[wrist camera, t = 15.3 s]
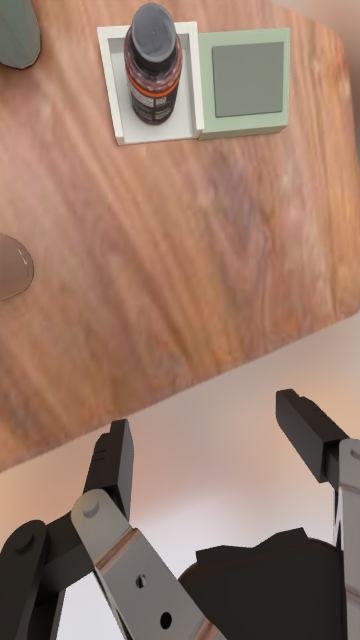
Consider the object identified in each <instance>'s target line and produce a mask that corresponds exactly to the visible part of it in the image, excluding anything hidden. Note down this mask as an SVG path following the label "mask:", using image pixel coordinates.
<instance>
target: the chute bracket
mask: <svg viewBox="0 0 360 640" xmlns="http://www.w3.org/2000/svg"><path fill="white" fill-rule="evenodd" d="M174 25H175V29H176V33H177V35H178V37H179V39H180V43H181V47H182V54H183V63H182V70H181V76H180V81H179V86H178V92H177V97H176V102H175V106H174V110H173V112H172V114H171V116H170V117H169V118H168V119H167V120H166V121H165V122H163V123H161V124H158V125H150V124H147V123H145V122H144V121H142V120H141V119H140V118H139V117H138V116H137V115H136V113H135V112H134V110H133V107H132V104H131V100H130V96H129V89H128V86H127V85H128V83H127V76H126V69H125V61H124V41H125V36H126V34H127V31H128V29H129V27H130V26H131V25H127V26H110V27H97V32H98V38H99V44H100V49H101V55H102V61H103V67H104V73H105V78H106V84H107V90H108V96H109V102H110V108H111V113H112V119H113V125H114V131H115V137H116V140H117V143H118V146H120V145H131V144H141V143H152V142H162V141H173V140H183V139H194V138H198V137H199V135H200V133H201V131H204V118H203V104H202V89H201V75H200V61H199V47H198V33H197V21H196V22H179V23H174Z"/></svg>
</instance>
